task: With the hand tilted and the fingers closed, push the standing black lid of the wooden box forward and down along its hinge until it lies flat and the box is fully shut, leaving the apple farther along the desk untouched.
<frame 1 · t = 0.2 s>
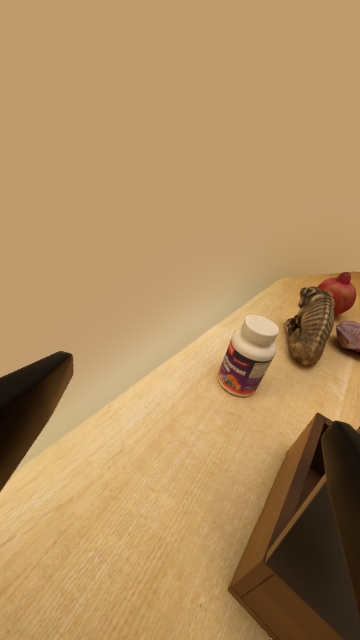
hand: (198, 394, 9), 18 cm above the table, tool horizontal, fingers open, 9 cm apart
figurine: (298, 345, 45), on the table
wooden box: (345, 574, 19), on the table
pill bottle: (235, 383, 35), on the table
fruit: (323, 313, 58), on the table
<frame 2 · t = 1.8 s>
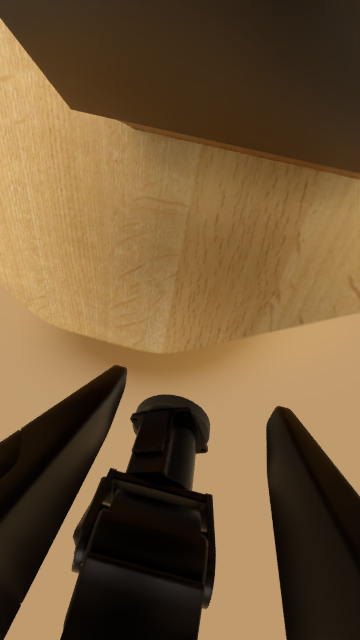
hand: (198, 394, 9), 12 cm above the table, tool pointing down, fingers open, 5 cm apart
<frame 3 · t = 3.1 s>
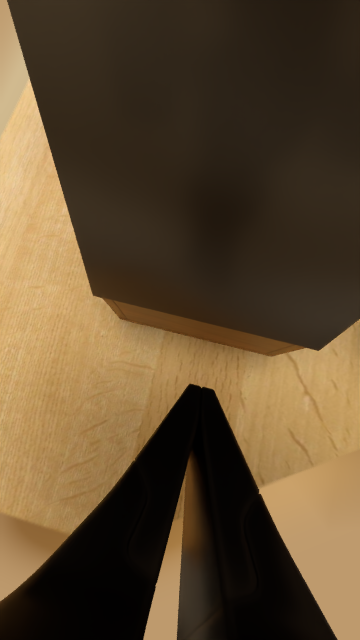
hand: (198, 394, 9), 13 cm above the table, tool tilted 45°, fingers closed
wooden box: (211, 267, 24), on the table
lid: (243, 207, 9), point 14 cm above the table, hinge at 70.0°
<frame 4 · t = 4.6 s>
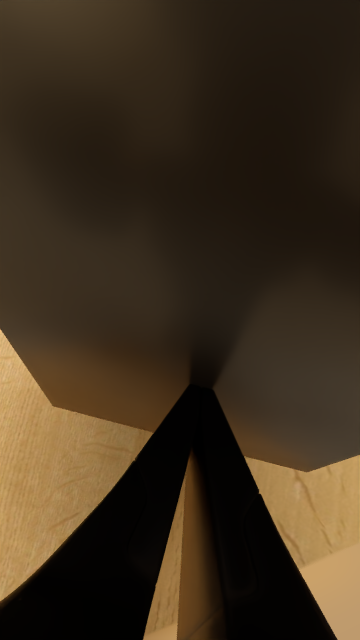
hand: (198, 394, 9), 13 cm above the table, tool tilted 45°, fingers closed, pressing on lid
lid: (209, 362, 8), point 14 cm above the table, hinge at 64.0°, touching gripper
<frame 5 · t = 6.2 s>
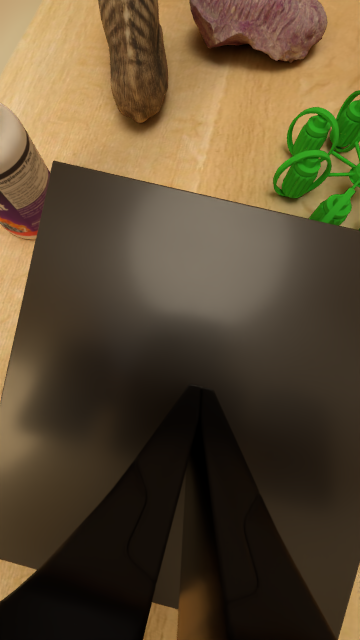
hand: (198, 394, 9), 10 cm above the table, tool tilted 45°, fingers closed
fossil: (250, 47, 27), on the table
chandelier: (346, 194, 23), on the table
figurine: (138, 81, 26), on the table
pill bottle: (37, 214, 22), on the table
lid: (194, 404, 9), point 9 cm above the table, hinge at 16.4°
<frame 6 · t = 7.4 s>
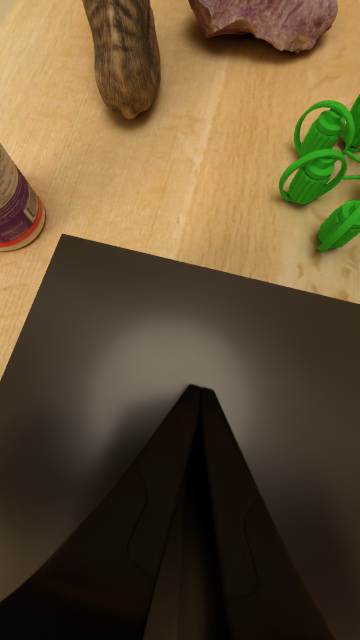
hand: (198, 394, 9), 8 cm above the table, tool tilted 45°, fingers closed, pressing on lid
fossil: (252, 37, 25), on the table
figurine: (128, 73, 23), on the table
pill bottle: (12, 222, 19), on the table
lid: (181, 463, 9), point 7 cm above the table, hinge at -0.2°, touching gripper, wooden box
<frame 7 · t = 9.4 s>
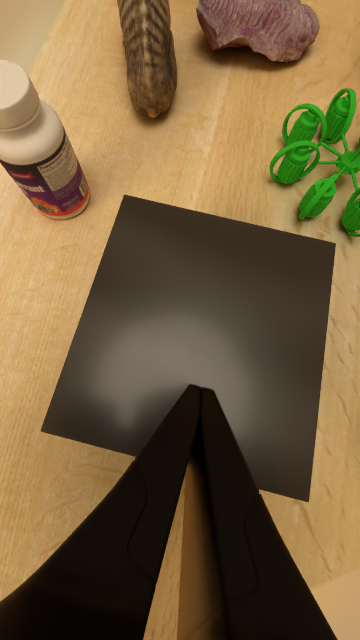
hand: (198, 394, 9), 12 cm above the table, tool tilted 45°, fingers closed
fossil: (250, 48, 30), on the table
chandelier: (334, 181, 26), on the table
figurine: (149, 80, 29), on the table
pill bottle: (64, 198, 25), on the table
lid: (203, 328, 15), point 7 cm above the table, hinge at -0.2°, touching wooden box
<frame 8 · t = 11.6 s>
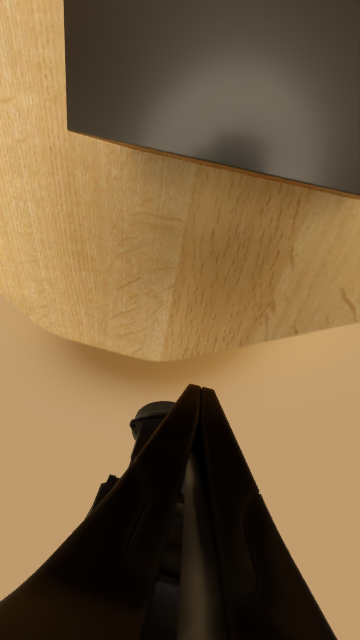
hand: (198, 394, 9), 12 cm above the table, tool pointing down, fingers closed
wooden box: (284, 9, 12), on the table
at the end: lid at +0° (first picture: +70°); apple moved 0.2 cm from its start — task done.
